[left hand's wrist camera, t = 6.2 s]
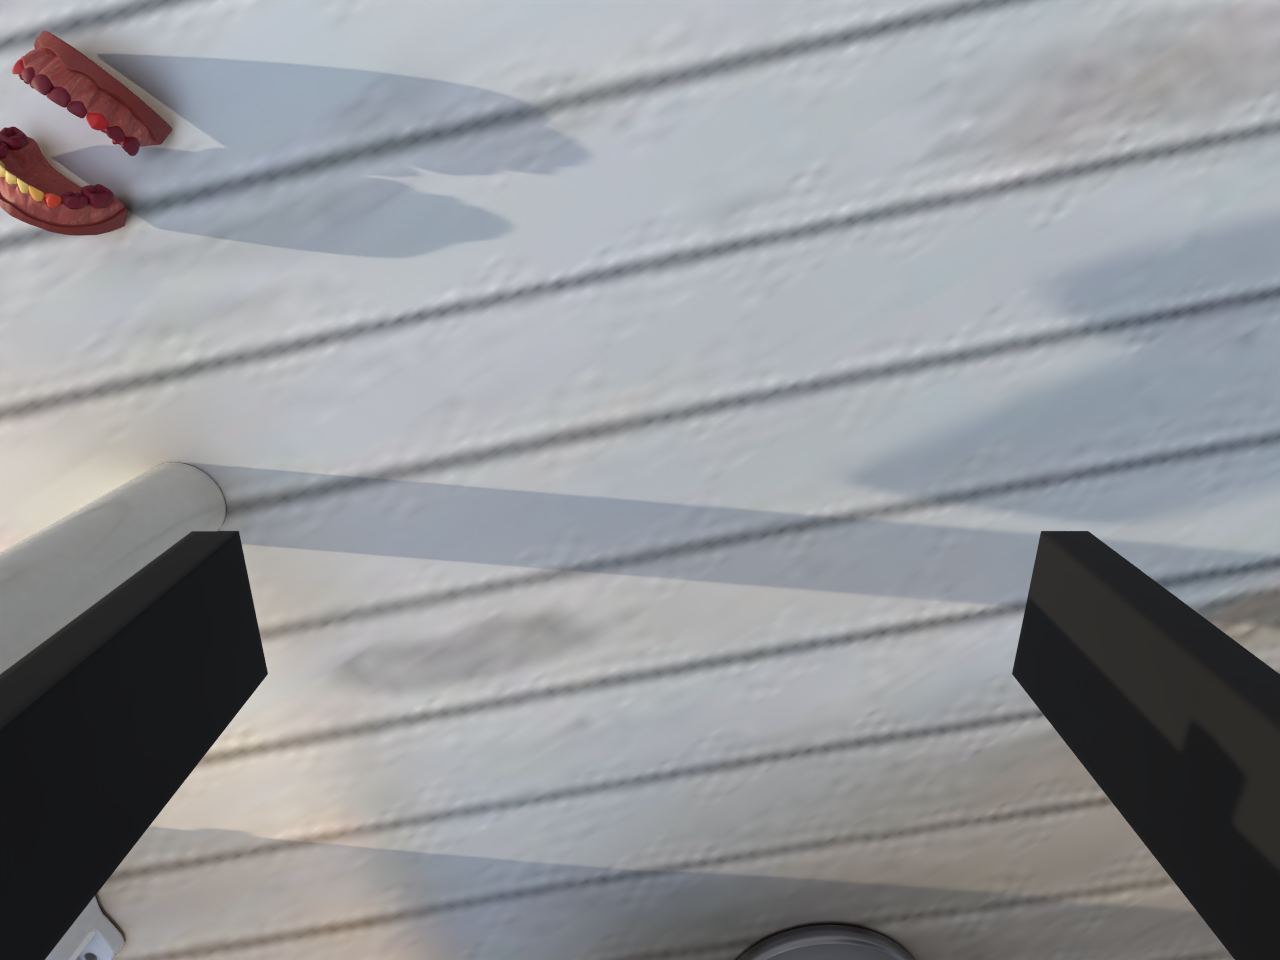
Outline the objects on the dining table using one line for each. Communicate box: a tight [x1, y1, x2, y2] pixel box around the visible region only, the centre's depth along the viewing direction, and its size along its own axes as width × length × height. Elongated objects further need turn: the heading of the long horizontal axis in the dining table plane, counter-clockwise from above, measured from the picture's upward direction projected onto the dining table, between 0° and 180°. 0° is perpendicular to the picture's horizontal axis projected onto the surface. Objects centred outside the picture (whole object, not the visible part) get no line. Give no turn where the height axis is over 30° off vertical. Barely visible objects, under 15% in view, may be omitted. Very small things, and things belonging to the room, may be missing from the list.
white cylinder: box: [0, 463, 226, 674], centre depth 33 cm, size 5×5×20 cm
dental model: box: [0, 31, 172, 235], centre depth 34 cm, size 6×4×8 cm
